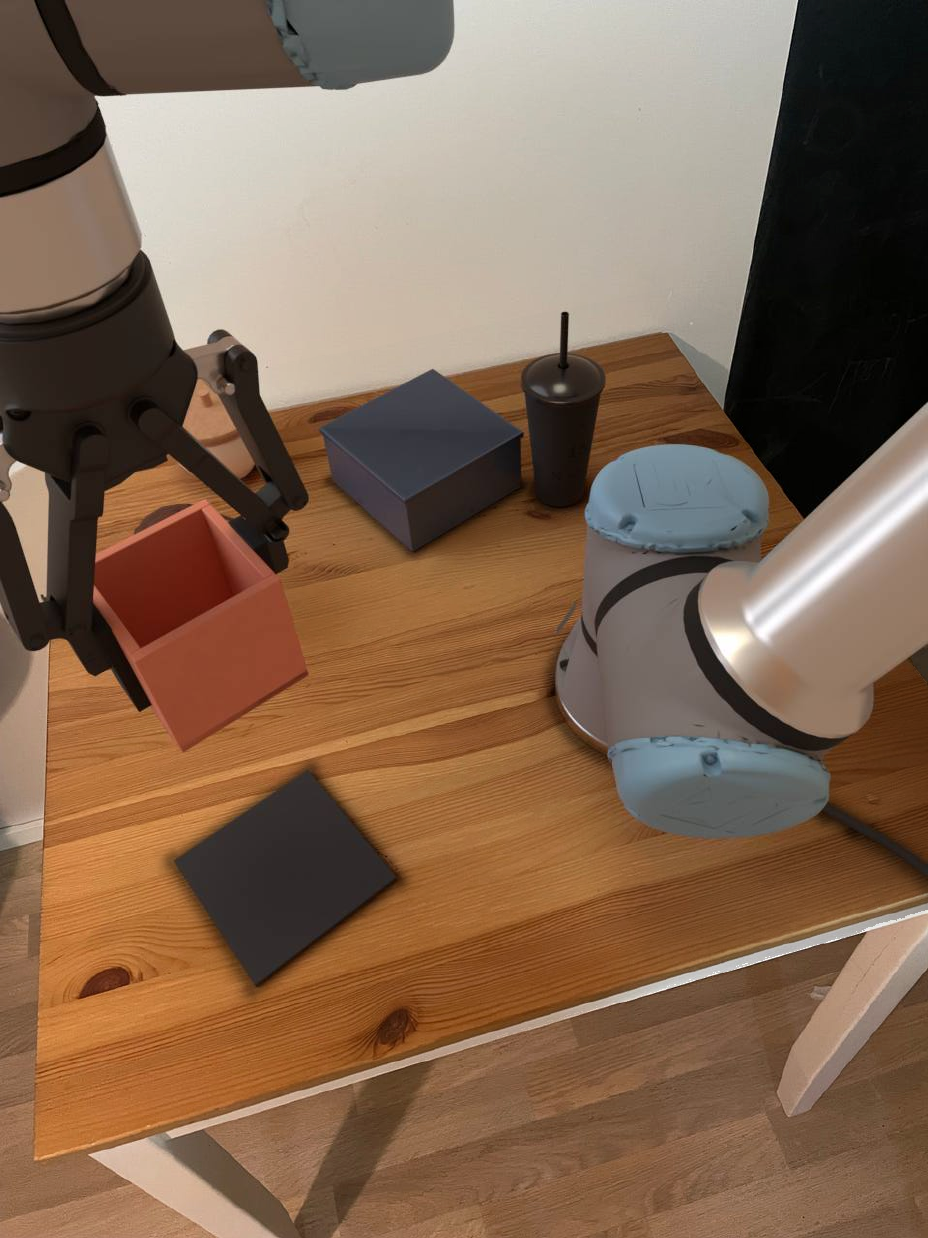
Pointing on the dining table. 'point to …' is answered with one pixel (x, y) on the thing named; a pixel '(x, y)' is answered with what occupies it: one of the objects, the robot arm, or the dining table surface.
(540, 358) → the drinking cup
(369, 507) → the tin
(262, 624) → the tub
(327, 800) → the mat
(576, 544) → the dining table surface
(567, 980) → the dining table surface
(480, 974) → the dining table surface
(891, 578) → the robot arm
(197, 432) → the trinket box
